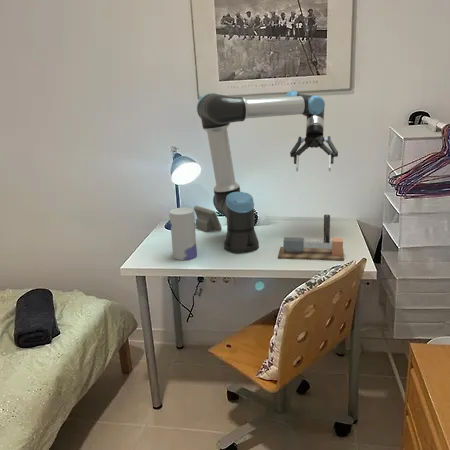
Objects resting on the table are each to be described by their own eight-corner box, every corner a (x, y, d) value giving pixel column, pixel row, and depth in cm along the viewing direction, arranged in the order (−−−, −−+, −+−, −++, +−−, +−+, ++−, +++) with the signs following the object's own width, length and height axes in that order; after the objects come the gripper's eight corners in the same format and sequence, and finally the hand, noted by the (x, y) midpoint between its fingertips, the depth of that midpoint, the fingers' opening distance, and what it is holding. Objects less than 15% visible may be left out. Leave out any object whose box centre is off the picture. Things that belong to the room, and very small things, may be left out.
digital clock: (223, 231, 240) (222, 210, 237) (206, 235, 236) (205, 213, 233) (208, 222, 254) (207, 202, 250) (192, 226, 250) (190, 205, 247)
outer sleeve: (283, 253, 207) (283, 240, 205) (284, 249, 210) (284, 237, 209) (303, 254, 205) (303, 241, 203) (303, 250, 209) (303, 237, 207)
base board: (277, 258, 204) (277, 256, 204) (280, 248, 214) (280, 246, 214) (343, 260, 199) (343, 258, 199) (343, 250, 209) (343, 248, 209)
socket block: (332, 255, 202) (332, 241, 200) (332, 250, 207) (332, 237, 205) (342, 255, 201) (342, 241, 200) (342, 251, 206) (342, 237, 204)
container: (175, 251, 217) (172, 207, 211) (198, 251, 216) (195, 206, 210) (171, 260, 208) (167, 214, 201) (194, 260, 206) (191, 213, 200)
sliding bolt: (297, 247, 206) (297, 215, 201) (298, 245, 208) (298, 214, 203) (339, 249, 202) (340, 216, 198) (339, 246, 204) (340, 214, 200)
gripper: (343, 133, 223) (343, 174, 214) (287, 134, 228) (284, 174, 219) (344, 123, 216) (343, 164, 207) (285, 124, 222) (283, 164, 212)
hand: (313, 169), depth 213 cm, fingers open, 13 cm apart
